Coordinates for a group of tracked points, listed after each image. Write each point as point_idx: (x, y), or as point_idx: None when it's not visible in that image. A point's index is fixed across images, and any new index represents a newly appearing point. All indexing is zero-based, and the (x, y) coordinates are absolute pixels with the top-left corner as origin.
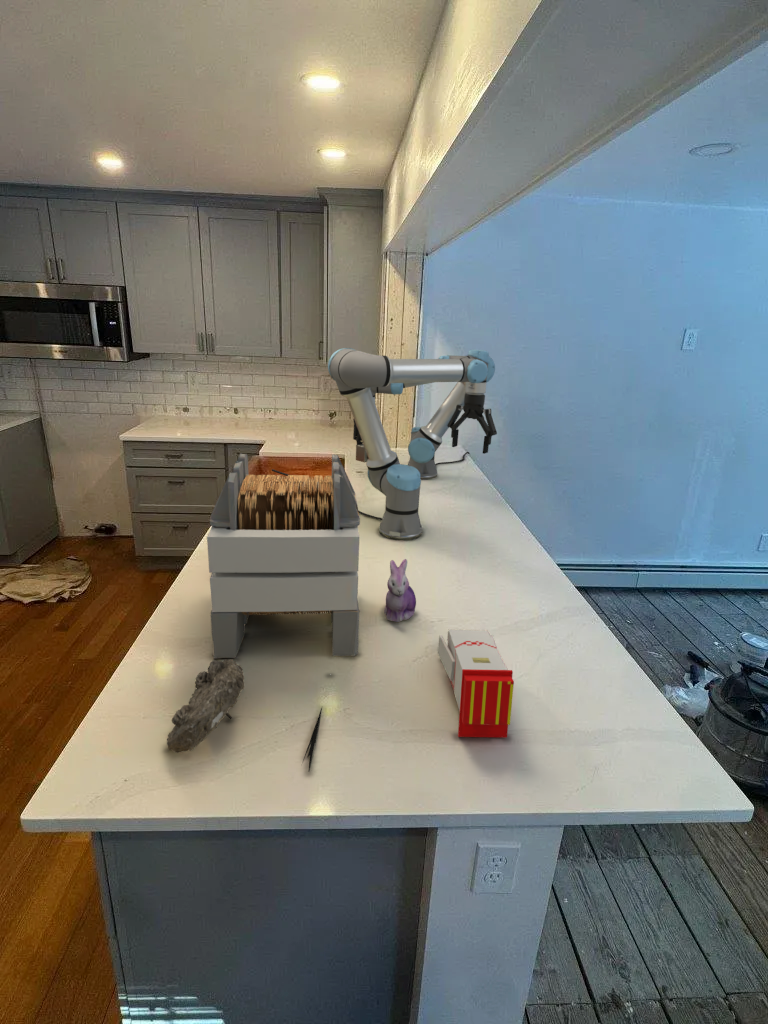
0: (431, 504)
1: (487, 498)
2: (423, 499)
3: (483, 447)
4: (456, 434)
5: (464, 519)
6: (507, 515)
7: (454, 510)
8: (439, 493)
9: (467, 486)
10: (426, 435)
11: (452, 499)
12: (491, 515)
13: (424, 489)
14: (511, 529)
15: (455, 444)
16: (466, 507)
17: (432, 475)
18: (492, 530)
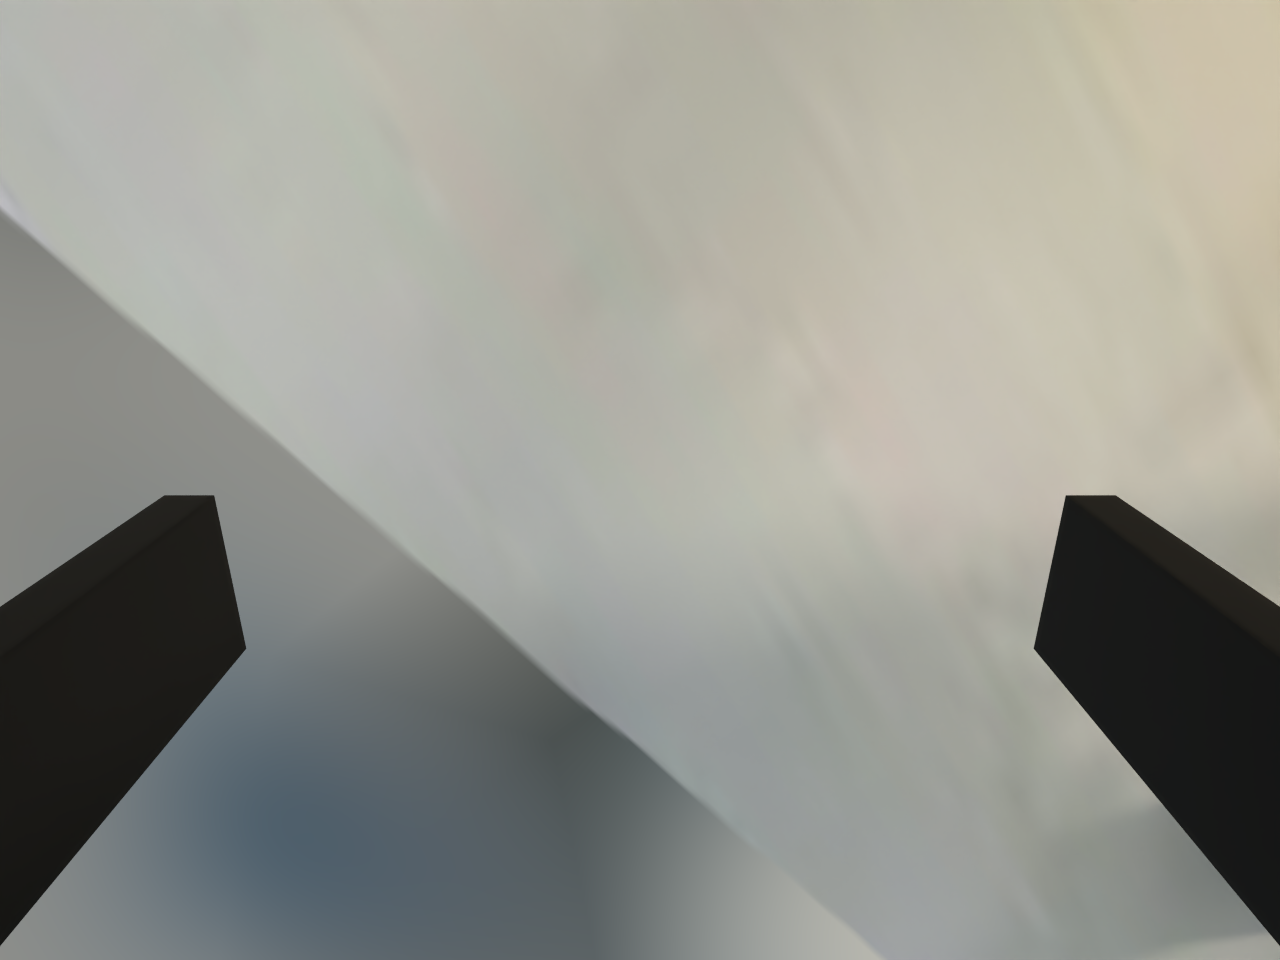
0: (957, 265)
1: (673, 715)
2: (1080, 329)
3: (108, 561)
4: (1275, 797)
5: (523, 137)
6: (346, 497)
7: (716, 281)
8: (1033, 561)
9: (928, 835)
10: None
11: (873, 511)
12: (427, 405)
13: None
14: (116, 228)
15: (1077, 597)
16: (681, 425)
17: None
18: (191, 73)
